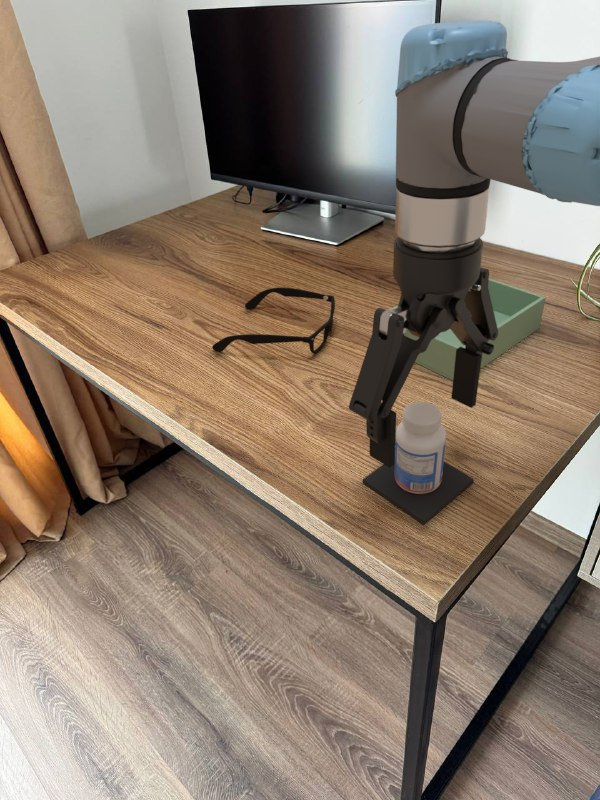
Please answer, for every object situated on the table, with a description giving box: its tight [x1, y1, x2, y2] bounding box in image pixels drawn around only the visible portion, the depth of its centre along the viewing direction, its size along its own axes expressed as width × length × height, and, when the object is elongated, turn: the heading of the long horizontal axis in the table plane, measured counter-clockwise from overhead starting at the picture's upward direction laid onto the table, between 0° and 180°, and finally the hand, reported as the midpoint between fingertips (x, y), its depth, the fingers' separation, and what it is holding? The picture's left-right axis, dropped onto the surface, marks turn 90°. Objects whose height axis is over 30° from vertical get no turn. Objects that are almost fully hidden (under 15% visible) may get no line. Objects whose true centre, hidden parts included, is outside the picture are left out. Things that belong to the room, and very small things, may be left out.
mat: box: [362, 461, 475, 526], centre depth 68 cm, size 9×9×1 cm
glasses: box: [211, 287, 336, 355], centre depth 96 cm, size 17×18×5 cm
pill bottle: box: [394, 401, 447, 494], centre depth 65 cm, size 6×5×10 cm
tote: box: [387, 277, 547, 381], centre depth 91 cm, size 15×21×6 cm
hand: (424, 429), depth 63 cm, fingers open, 13 cm apart
